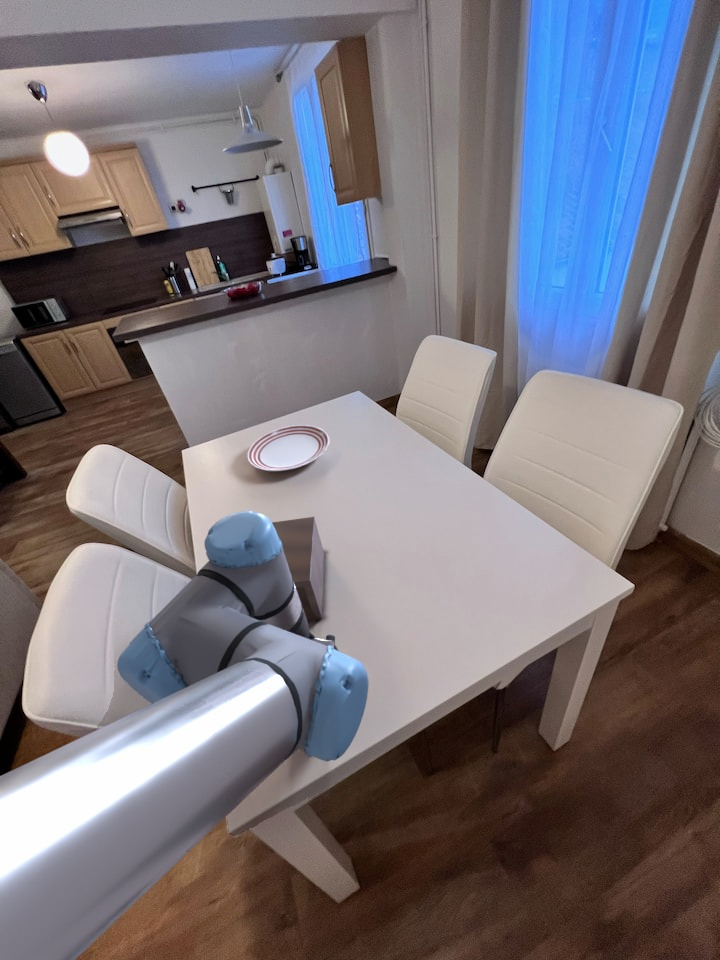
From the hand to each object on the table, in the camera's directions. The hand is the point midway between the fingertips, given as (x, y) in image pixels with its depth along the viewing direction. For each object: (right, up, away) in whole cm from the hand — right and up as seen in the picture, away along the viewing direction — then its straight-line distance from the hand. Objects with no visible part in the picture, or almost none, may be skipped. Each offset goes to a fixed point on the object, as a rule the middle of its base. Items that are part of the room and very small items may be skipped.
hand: (309, 701), depth 65 cm
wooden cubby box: (-8, +12, +23) cm, 27 cm away
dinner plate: (-15, +45, +70) cm, 84 cm away
